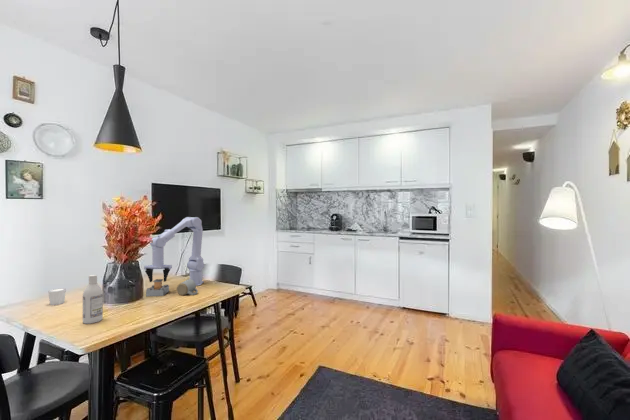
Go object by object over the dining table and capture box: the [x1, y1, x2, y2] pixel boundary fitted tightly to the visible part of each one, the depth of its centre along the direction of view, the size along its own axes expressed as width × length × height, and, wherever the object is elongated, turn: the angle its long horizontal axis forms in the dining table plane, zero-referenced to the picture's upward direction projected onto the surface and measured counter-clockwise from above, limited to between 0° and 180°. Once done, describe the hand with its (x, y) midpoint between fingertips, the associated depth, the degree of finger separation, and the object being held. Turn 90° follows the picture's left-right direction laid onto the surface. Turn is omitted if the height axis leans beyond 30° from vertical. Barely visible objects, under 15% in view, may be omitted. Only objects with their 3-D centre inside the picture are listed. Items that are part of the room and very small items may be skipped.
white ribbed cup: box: [48, 287, 67, 306], centre depth 150 cm, size 7×7×7 cm
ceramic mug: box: [176, 278, 198, 296], centre depth 168 cm, size 11×8×8 cm
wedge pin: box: [152, 278, 164, 289], centre depth 168 cm, size 4×4×8 cm
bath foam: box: [82, 274, 104, 325], centre depth 127 cm, size 7×7×20 cm
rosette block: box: [145, 284, 170, 297], centre depth 168 cm, size 9×9×4 cm
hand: (158, 281), depth 168 cm, fingers open, 7 cm apart
